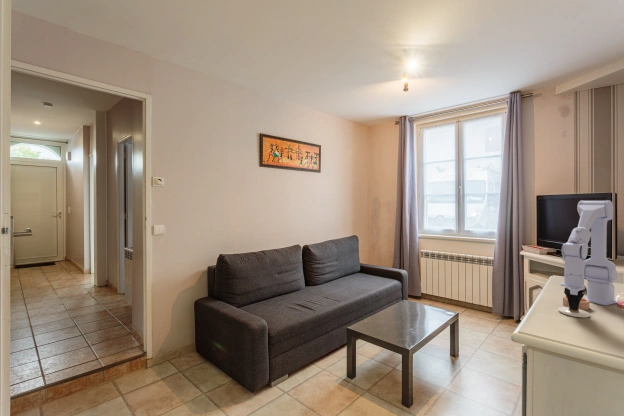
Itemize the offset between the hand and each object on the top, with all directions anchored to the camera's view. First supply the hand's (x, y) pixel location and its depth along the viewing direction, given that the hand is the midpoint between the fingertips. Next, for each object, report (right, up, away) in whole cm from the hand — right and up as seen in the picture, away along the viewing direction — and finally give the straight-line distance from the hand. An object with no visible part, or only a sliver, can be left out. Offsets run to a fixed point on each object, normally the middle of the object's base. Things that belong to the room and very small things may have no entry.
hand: (573, 308), depth 113 cm
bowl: (+8, -2, +8) cm, 11 cm away
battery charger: (+30, -1, +29) cm, 42 cm away
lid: (0, -2, 0) cm, 2 cm away
